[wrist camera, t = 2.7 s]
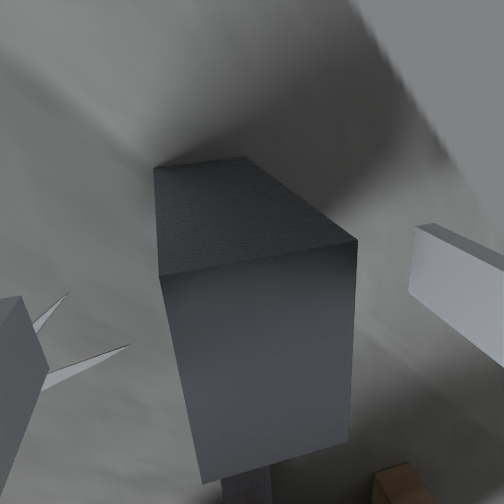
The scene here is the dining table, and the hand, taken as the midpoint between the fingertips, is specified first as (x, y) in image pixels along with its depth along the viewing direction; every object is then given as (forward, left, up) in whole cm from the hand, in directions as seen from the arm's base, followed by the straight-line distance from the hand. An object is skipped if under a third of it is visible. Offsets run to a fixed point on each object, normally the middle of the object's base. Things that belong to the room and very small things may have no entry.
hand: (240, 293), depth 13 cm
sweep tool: (+11, 0, -6) cm, 12 cm away
